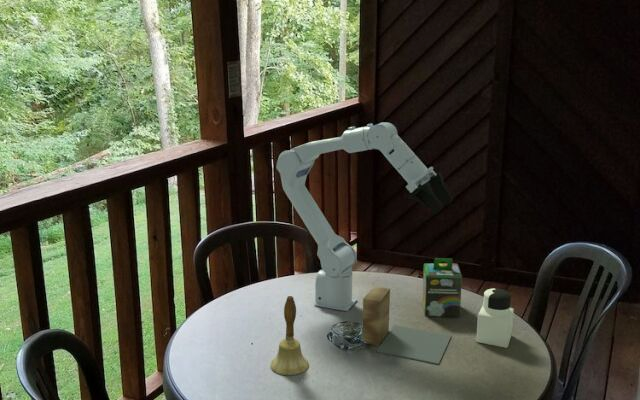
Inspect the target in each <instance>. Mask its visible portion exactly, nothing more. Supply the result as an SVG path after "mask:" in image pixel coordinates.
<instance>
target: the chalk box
mask: <svg viewBox="0 0 640 400" xmlns="http://www.w3.org/2000/svg"><path fill="white" fill-rule="evenodd" d="M422 274H423V275H422V276H423V278H422V279H423V280H422V283H423V284H422V306H423V312H424V316H425V317H443V318H458V319H459V318H460V317H461V301H462V281H463V275H462V273H461V269H460V266H459V264H458V263H454V262H453V258H451V257H450V258H447V257H446V258H445V257H443V258H441V257H435V258H434V260H433V263H432V262H431V263H426V262H425V263H423V273H422Z"/></svg>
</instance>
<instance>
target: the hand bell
mask: <svg viewBox="0 0 640 400" xmlns="http://www.w3.org/2000/svg"><path fill="white" fill-rule="evenodd" d="M283 317H284V321H285V325H286V327H285V328H286V330H285V338H284V339H281V341H279V344H278V351H277V354H276V357H274V358H273V359H272V360H271V362H270V369H271V370H272V371H273V372H274V373H276V374H278V375H282V376H283V375H284V376H295V375H300V374H303V373H304V372H306V371H308V369H309V366H310V363H309V361H308V360H307V358H306V357H305V356H304V354H303V353H302V349H301V343H300V341H299V340H298V339H296V338H295V337H294V336H295V332H294V331H295V330H294V328H295V327H294V325H295V320H296V317H297V306H296V303H295V299H294V296H292V295H287V297H286V301H285V303H284V308H283Z"/></svg>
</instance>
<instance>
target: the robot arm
mask: <svg viewBox="0 0 640 400" xmlns="http://www.w3.org/2000/svg"><path fill="white" fill-rule="evenodd" d="M339 150H340V151H341V150H344V151H345V152H347V153H348V154H353V153H357V152H359V153H360V152H364V151H368V150H378V151H380V152H381V154H383V156H384V157H385V158H386V160H387V161H388V162H389V164H391V165H392V167H393V168H394V169H395V170H396V171H397V172H398V173H399V175H401V177H402V178H403V179H404V180H405V181H406V182H407V185H406V186H405V188H406V190H407V191H409V193H410V195H409V196H408V198H409V199H410V200H413V201H415V202H418V203H419V204H421V205H422V206H425V207H426V208H427V209H429V210H430V211H431V212H432V213H434V214H436V215H437V214H439V212H441V210H443V209H444V207H443V205H445V206H448V205H449V204H450V203H452V201H453V200H454V199H453V197H452V195H451V194H450V192H449V190H448V188H447V186H446V184H445V181H444V175H443V173H442V172H439V173H436V172H435V171H434V167H433V166H430V167H427V166H426V165H425V164H424V163H423V162H422V160H421V159H420V158H419V157H418V156H417V155H416V154H415V152H414V151H413V150H412V149H411V148H410V146H408V145H407V143H406V142H405V141H403V139H402V138H401V137H400V136H399V135H398V129H397V127H396V126H395V125H394V124H392V123H391V122H384V121H382V122H380V123H377V124H373V123H372V122H371V123H368V124H367V125H365V126H361V127H356V126H355V125H354V126H349V127H348V128H347V129H346V130H344V131H343V133H342V135H341V136H338V137H331V138H326V139H321V140H320V139H319V140H314V141H310V142H307V143H304V144H301V145H298V146H296V147H293V148H291V149H290V150H284V151H282V152H281V153H280V154H279V156H278V159H277V161H276V167H275V168H276V170H277V171H278V173H279V177H280V180H281V181H280V182H281V185H282V190H283V191H284V193H285V195H286V196H287V198H288V199H289V201H290V203H291V204H292V206H293V207H294V209H295V211H296V212H297V213H298V215H299V217H300V218H301V220H302V221H303V223H304V225H305V227H306V228H307V230H308V231H309V233H310V234H311V236H312V237H313V239H314V241H315V243H317V253H316V255H317V257H318V259H319V260H320V266H321V269H320V270H318V272H317V274H316V277H315V285H314V286H315V293H314V294H315V300H314V301H315V303H313V305H314V306H316V307H320V308H321V307H322V308H327V309H332V310H337V311H338V310H339V311H342V312H343V311H344V312H348V311H349V310H350V309H351V308H352V307H353V306H354V305H355V303H356V302H357V301H358V299H357V298H356V297H353V265H354V264H355V263H356V261H357V252H356V250H355V248H354V247H353V246H352V245H350V244H349V243H348V242H347V241H346V240H345V238H344V237H342V236H340V235H337V234H336V233H335V231H334V230H333V228H332V226H331V224H330V223H329V221H328V220H327V218H326V217H325V215H324V213H323V211H322V210H321V209H320V207H319V205H318V204H317V202H316V201H315V200H314V198H313V196H312V194H311V193H310V192H309V190H308V188H307V187H306V180H307V177H308V174H309V173H310V171H311V169H312V167H313V166H314V164H315V162H316V161H315V160H316V159H318V158H319V157H320V156H321V154H326V153H327V154H328V153H330V152H334V151H339Z"/></svg>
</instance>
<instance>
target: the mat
mask: <svg viewBox="0 0 640 400" xmlns="http://www.w3.org/2000/svg"><path fill="white" fill-rule="evenodd" d="M451 338H452V335H450V334H444V333H439V332H433V331H428V330H425V329H424V330H422V329H418V328H413V327H406V326H401V325H396V324H394V325H393V326H392V328H391V329H390V330H389V331H388V333H387V334H386V336H385V337H384V339H383V340H382V342H381V343H380V345H379V346H378V348H377V350H376V352H377V353H380V354H386V355H389V356H395V357H399V358H404V359H409V360H414V361H419V362H424V363H428V364H434V365H437V366H439V365H440V362H441V360H442V358H443V356H444V353H445V351H446V350H447V347H448V344H449V343H450V340H451Z"/></svg>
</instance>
